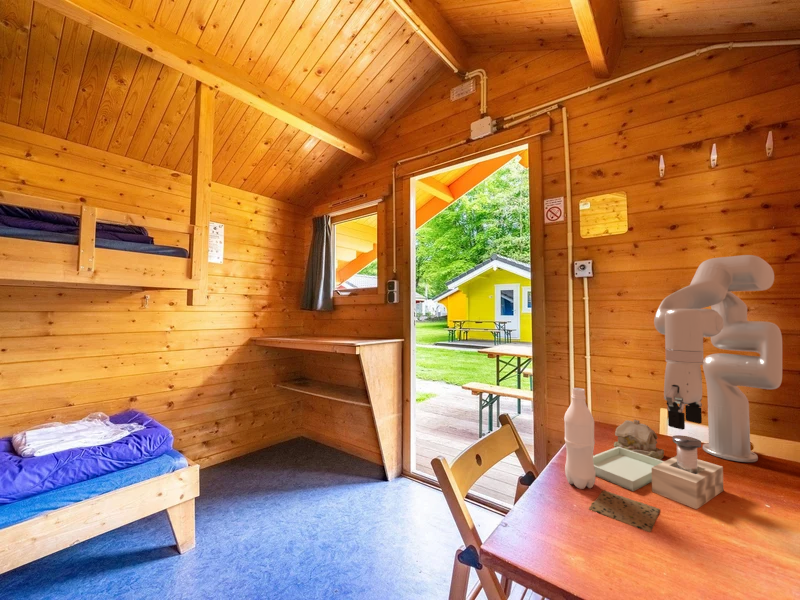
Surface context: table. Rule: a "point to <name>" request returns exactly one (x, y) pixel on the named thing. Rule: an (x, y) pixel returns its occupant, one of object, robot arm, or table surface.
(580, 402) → the water bottle
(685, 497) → the block
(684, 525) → the table surface
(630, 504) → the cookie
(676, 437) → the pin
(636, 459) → the tray
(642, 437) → the ceramic model
